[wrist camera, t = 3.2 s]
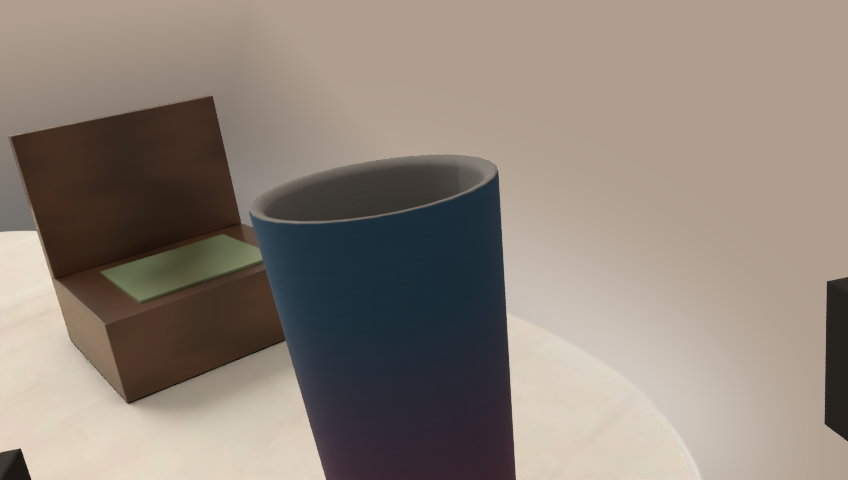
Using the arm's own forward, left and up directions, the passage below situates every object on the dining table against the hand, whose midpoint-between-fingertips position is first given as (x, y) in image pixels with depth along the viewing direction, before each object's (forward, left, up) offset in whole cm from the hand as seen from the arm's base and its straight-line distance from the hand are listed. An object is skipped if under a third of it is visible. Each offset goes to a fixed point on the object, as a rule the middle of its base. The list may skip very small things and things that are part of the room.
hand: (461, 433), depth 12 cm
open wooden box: (-8, -42, -13) cm, 44 cm away
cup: (-4, -9, -13) cm, 16 cm away
